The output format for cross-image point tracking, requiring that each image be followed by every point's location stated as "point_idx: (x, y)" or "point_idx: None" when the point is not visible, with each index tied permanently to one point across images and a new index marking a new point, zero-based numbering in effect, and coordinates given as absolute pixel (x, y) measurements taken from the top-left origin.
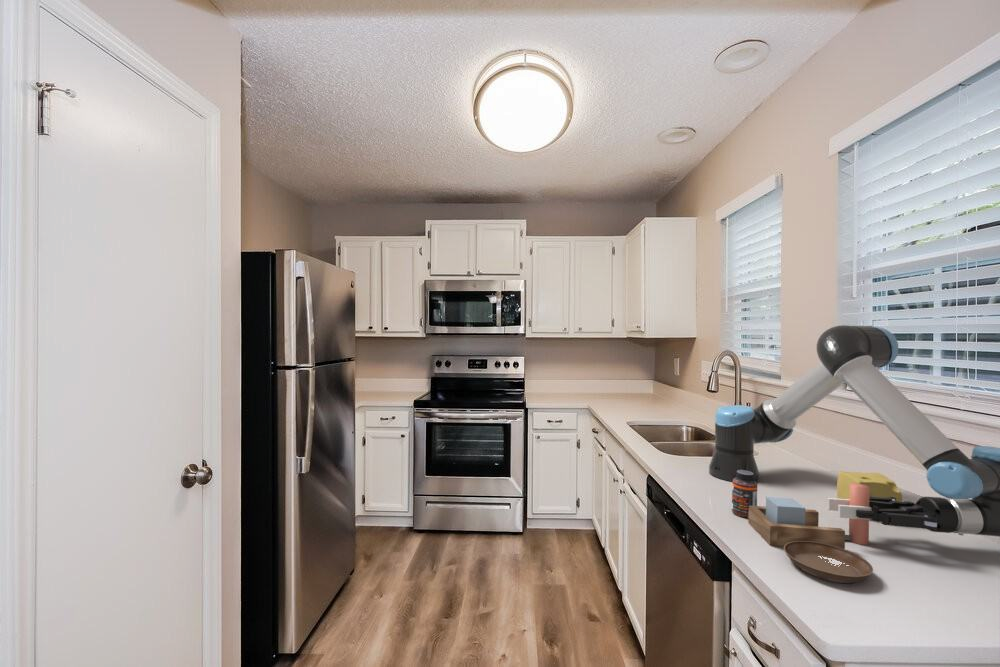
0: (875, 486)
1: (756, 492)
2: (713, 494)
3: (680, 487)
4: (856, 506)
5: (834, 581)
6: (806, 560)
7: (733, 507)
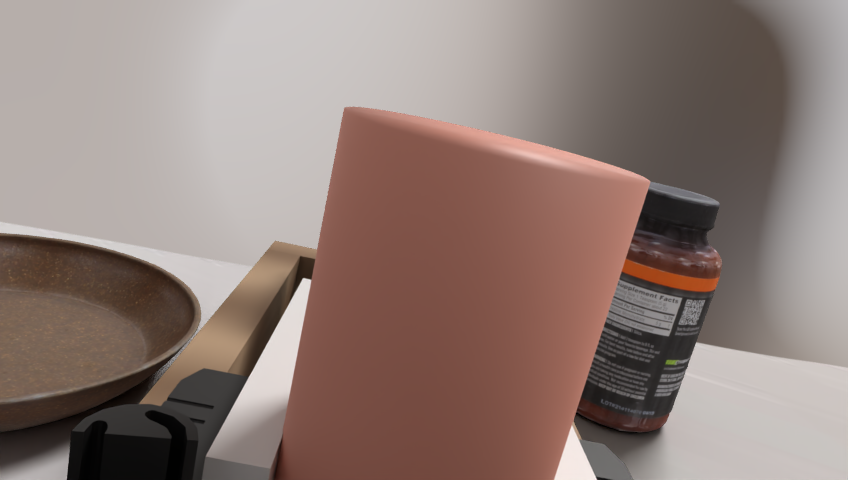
0: None
1: (622, 290)
2: (819, 421)
3: (802, 369)
4: (285, 352)
5: None
6: (88, 333)
7: None
